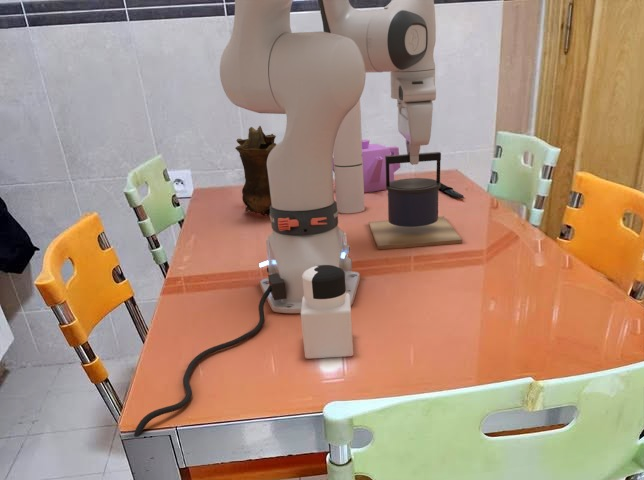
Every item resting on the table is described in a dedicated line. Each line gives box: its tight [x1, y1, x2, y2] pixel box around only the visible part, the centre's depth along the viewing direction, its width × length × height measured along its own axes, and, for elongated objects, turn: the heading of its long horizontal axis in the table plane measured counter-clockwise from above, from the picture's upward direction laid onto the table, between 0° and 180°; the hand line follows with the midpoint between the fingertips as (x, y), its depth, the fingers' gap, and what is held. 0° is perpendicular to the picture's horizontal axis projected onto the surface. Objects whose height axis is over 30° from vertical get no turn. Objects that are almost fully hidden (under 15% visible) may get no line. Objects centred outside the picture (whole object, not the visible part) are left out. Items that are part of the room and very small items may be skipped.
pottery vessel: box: [234, 125, 277, 217], centre depth 163 cm, size 25×11×20 cm, turn 7°
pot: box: [385, 151, 442, 227], centre depth 140 cm, size 12×12×13 cm
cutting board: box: [368, 215, 463, 250], centre depth 146 cm, size 20×18×1 cm
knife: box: [438, 181, 467, 199], centre depth 175 cm, size 21×1×3 cm
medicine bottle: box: [300, 265, 354, 360], centre depth 94 cm, size 7×7×12 cm
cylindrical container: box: [333, 98, 366, 214], centre depth 159 cm, size 7×7×25 cm
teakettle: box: [333, 139, 401, 194], centre depth 183 cm, size 17×17×12 cm
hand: (412, 162), depth 137 cm, fingers closed on pot
